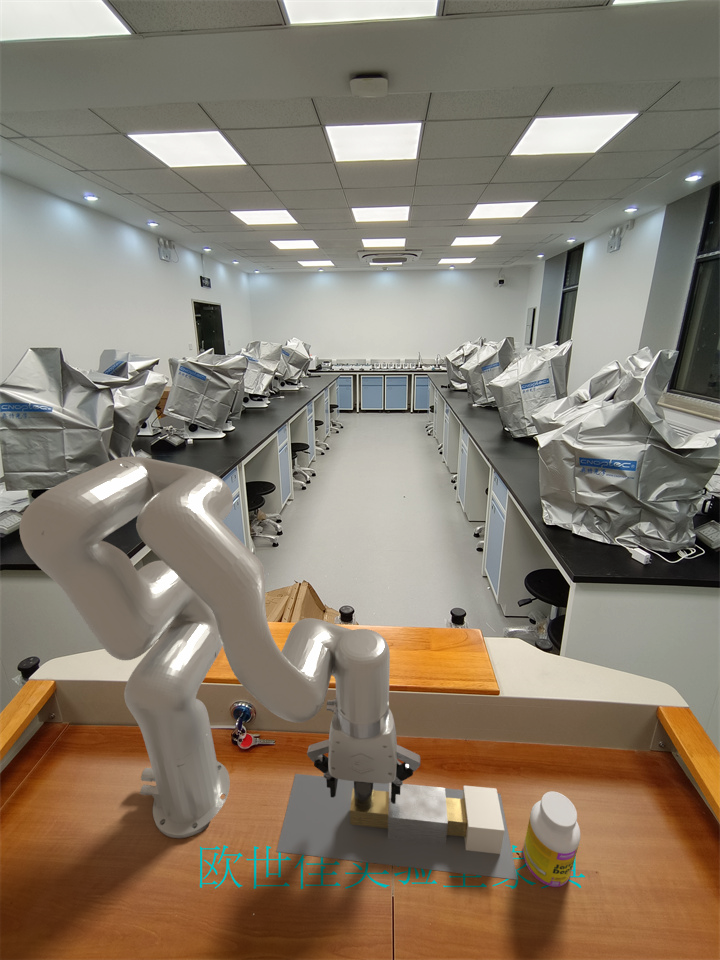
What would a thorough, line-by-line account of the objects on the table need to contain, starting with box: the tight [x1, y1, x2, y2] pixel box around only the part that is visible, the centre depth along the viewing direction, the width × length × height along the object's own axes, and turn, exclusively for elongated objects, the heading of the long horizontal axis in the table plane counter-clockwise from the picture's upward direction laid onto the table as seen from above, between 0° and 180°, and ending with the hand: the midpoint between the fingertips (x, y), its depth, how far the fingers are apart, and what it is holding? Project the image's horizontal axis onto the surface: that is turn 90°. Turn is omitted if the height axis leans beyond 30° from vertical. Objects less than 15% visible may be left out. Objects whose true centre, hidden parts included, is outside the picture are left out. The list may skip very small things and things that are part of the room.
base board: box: [276, 773, 518, 881], centre depth 69 cm, size 36×12×1 cm, turn 84°
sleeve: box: [388, 783, 448, 845], centre depth 68 cm, size 9×5×5 cm, turn 84°
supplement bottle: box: [522, 791, 581, 888], centre depth 62 cm, size 7×7×13 cm
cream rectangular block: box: [462, 785, 505, 854], centre depth 67 cm, size 5×6×6 cm
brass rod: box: [350, 781, 467, 837], centre depth 67 cm, size 22×3×9 cm, turn 84°
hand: (363, 790), depth 67 cm, fingers open, 9 cm apart
